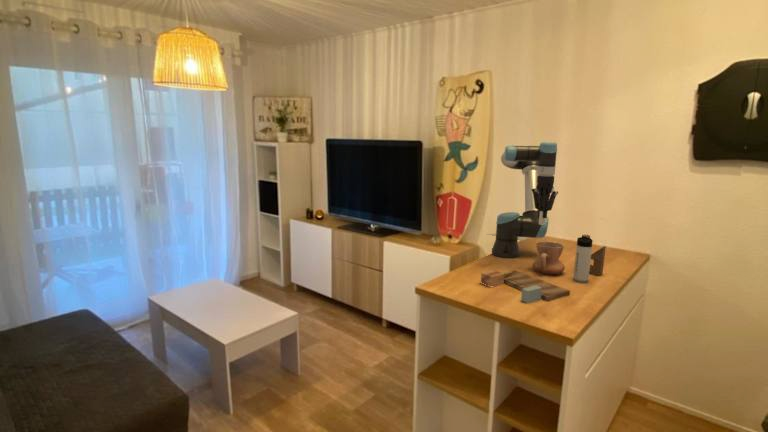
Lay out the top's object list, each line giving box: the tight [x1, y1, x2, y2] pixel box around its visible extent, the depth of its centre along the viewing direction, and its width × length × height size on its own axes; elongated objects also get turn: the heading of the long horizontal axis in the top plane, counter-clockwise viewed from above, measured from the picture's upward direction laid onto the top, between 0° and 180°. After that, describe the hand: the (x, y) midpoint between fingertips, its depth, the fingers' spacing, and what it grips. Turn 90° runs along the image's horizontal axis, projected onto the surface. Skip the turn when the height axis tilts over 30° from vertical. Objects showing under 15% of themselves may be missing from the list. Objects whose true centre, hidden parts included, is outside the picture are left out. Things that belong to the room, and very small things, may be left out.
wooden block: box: [581, 234, 607, 277], centre depth 196 cm, size 4×11×18 cm, turn 43°
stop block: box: [520, 285, 542, 304], centre depth 163 cm, size 3×8×5 cm, turn 120°
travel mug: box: [572, 235, 594, 284], centre depth 184 cm, size 6×7×20 cm
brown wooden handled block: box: [480, 269, 513, 287], centre depth 183 cm, size 6×16×5 cm, turn 121°
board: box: [504, 270, 571, 302], centre depth 178 cm, size 30×14×2 cm, turn 30°
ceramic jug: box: [532, 240, 566, 276], centre depth 196 cm, size 18×14×14 cm
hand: (541, 224), depth 196 cm, fingers closed
